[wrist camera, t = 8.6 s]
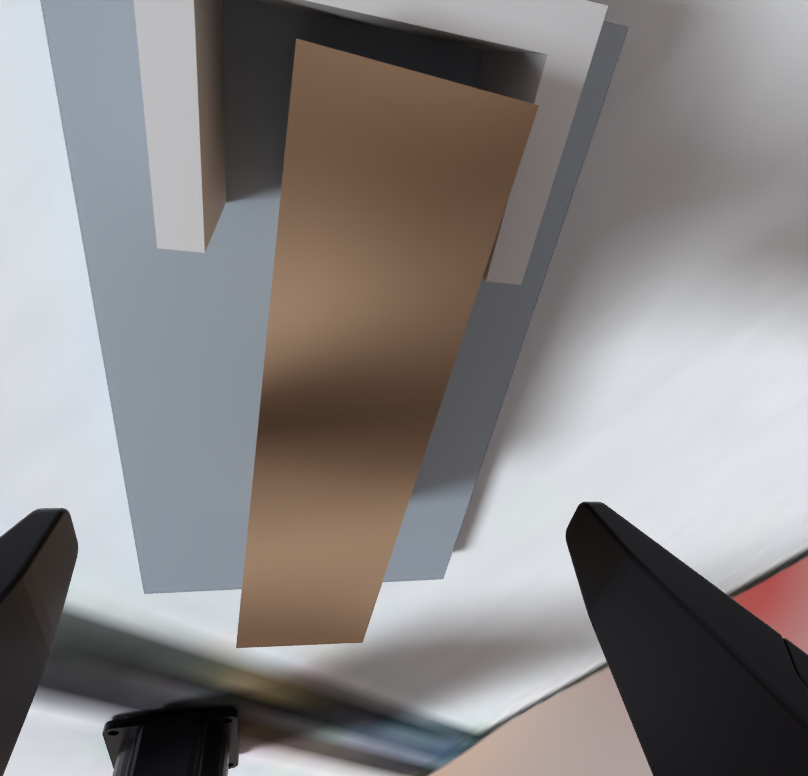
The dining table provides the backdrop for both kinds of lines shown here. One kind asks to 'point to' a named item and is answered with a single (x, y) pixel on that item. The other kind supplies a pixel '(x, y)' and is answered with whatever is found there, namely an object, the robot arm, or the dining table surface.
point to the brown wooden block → (363, 325)
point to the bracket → (257, 230)
